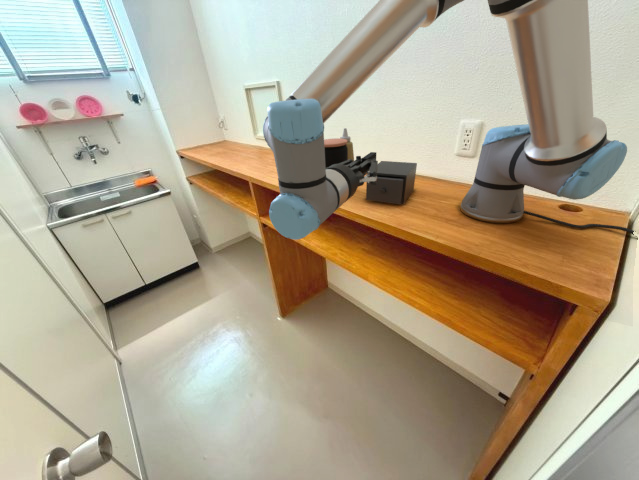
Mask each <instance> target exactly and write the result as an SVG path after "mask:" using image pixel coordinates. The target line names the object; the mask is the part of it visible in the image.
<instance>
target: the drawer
mask: <svg viewBox="0 0 639 480" xmlns="http://www.w3.org/2000/svg"><path fill="white" fill-rule="evenodd" d="M403 182H404V178H402V177H391V176H379V175H377V184H376V185H371V184H370V183H367V182H366V187H365V188H366V189H365V191H366V192H365V197H366V198H365V200H367V201H373V202H374V201H375V202H380V203H388V204H395V205H402V204H401V199H402V191H403Z"/></svg>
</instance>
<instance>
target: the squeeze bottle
mask: <svg viewBox="0 0 639 480" xmlns="http://www.w3.org/2000/svg"><path fill="white" fill-rule="evenodd" d="M340 139H346V140H347V141H348V142H347V145H346V146H347V148H348V160H349V159H352V160H353V161H355V154H354V145H353V142H352V141H351V136H349V134H348V129H347V128H345V127H344V128H343V130H342V136H340Z"/></svg>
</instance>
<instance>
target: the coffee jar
mask: <svg viewBox="0 0 639 480" xmlns="http://www.w3.org/2000/svg"><path fill="white" fill-rule="evenodd" d="M347 142H348V141H347V140H346V139H340V138H338V137H337V138H334V137H333V138H324V148H325V167H326V168H327V167H330V166H331V165H334V164H339V163H341V162H344V161H347V160H348V148H347V146H346V145H347Z"/></svg>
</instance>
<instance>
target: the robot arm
mask: <svg viewBox="0 0 639 480" xmlns="http://www.w3.org/2000/svg"><path fill="white" fill-rule="evenodd" d="M462 2H465V0H378V2H377V3H376V4H374V6H373V7H372V8H371V9H370V10H369V11H368V12H367V13H366V14H365V15H364V16H363V17H362V19H361V20H360V21H359V22H358V23H357V24H356V25H354V27H353V28H352V29H351V30H350V31H349V32H348V33H347V34H346V36H344V37H343V38H342V40H340V42H339V43H338V44H337V45H336V46H335V47H333V49H332V50H331V51H330V52H329V53H328V54H327V56H326V57H325V58H323V60H322V61H321V62H320V63H318V65H317V66H316V67H315V68H314V70H312V71H311V72H310V73H309V75H308V76H307V77H306V78H305V79H304V80H302V82H301V83H300V84H299V85H298V86H297V87H296V88H295V89H294V91H292V92H291V94H290V96H289V97H287V98H286V99H285V100H278V101H273V102H271V103H269V105H268V106H267V108H266V112H267V115H266V117H265V119H264V121H263V125H262V133H263V138H264V142H266V144H267V146H268V147H269V148H270V150H271V151H272V153H273V159H274V163H275V168H276V172H277V181H278V188H279V189H278V190H279V195H277V196H276V197H275V198H274V199H273V200H272V201H271V202H270V206H269V209H268V215H269V220H270V223H271V225H272V226H273V228H274V229H275V230H276V231H277V232H278V233H279V234H280V235H281V236H283V237H284V238H287V239H290V240H295V241H298V240H302V239H304V238H306V237H307V236H308V235H310V234H311V233H312V232H314V231H316V230H318V229H319V227H320V226H321V225H322V224H323V223H324V222H325V221H326V220H327V219H328V218H329V217H330V216H331V215H333V214H334V213H335V212H336V211H337V210H339V208H340V207H341V206H343V205H344V204H345V203H346V202H348V201H349V200H350V199H351V198H352V197H353V196H354V195H355V194H356V192H357V190H358V188H359V187H362V186H364V185H365V183H366V184H367V183H370V184H371V185H376V184H377V168H378V163H379V161H378V160H377V152H376V151H370V152H369V153H368V154H366V155H364V156H363V157H362V156H361V155H356V156H355V159H354V161H353V160H352V159H349V160H347V161H344V162H341V163H339V164H334V165H331V166H330V167H327V168H326V167H325V148H324V140H325V134H324V132H325V123H326V122H327V121H328V120H329V119H330V118H331V117H332V116H333V115H334V114H335V113H336V112H337V111H338V110H339V109H340V108H341V107H342V106H343V105H344V104H345V103H346V102H347V101H348V100H349V99H350V98H351V96H353V95H354V94H355V93H356V92H357V91H358V90H359V89H360V88H361V87H362V86H363V85H364V84H365V83H366V82H367V81H368V80H369V79H370V78H371V77H372V76H373V75H374V73H376V72H377V71H378V70H379V69H380V68H381V67H382V66H383V64H385V63H386V62H387V61H388V60H389V59H390V57H392V56H393V55H394V54H395V53H396V51H397V50H399V49H400V47H402V46H403V44H405V43H406V42H407V40H409V38H411V37H412V36H413V35H414V33H415V32H416V31H418V30H419V29H420V28H423V29H424V28H427V27H430V26H431V25H432V24H433V23H434V22H435V21H436V20H437V19H438V18H439V17H441V16H442V15H443V14H444V13H446V12H447V11H448V10H450V9H451V8H453V7H455V6H457V5H458V4H460V3H462ZM487 3H488V8H489V12H490V15H491V16H492V17H495V18H500V19H504V20H505V22H506V26H507V31H508V36H509V42H510V45H511V50H512V55H513V59H514V63H515V68H516V75H517V77H518V82H519V87H520V91H521V96H522V101H523V105H524V111H525V114H526V119H527V124H526V123H525V124H512V125H505V126H496V127H492V128H490V129H489V130H488V131H487V132H486V134H485V137H484V140H483V143H482V144H481V150H480V154H479V158H478V162H477V167H476V171H475V174H474V179H473V183H472V184H471V186H470V188H469V189H468V191H467V192H466V194H465V196H464V197H463V198H462V200H461V203H460V207H459V210H460V211H461V212H462V213H463V214H464V215H466V216H467V217H469V218H471V219H474V220H476V221H477V220H478V221H481V222H486V223H491V224H511V223H516V222H519V221H520V220H521V219H522V217H523V215H524V214H525V215H527V216H532V217H536V218H538V219H542V220H545V221H549V222H552V223H554V224H559V225H562V226H566V227H570V228H574V229H588V228H602V229H611V230H618V231H623V232H626V233H629V234H630V235H633V236H634V234H633V232H634V231H635V230H633V229H631V228H628V227H623V226H620V225H619V226H618V225H611V224H601V223H587V224H583V225H581V224H575V223H574V224H573V223H570V222H567V221H563V220H559V219H555V218H551V217H550V216H549V217H548V216H545V215H543V214H539V213H535V212H531V211H527V210H525V197H524V195H525V194H524V189H525V186H526V187H530V188H532V189H536V190H539V191H542V192H545V193H548V194H550V195H554V196H556V197H558V198H565V199H569V200H574V201H575V200H583V199H586V198H588V197H590V196H592V195H594V194H595V193H597V192H598V191H600V190H601V189H602V188H603V187H604V186H605V185H606V184H608V182H610V180H612V178H613V177H614V176H615V174H616V173H617V172H618V171H619V169H620V168H621V166H622V165H623V163H624V161H625V158H626V156H627V154H628V147H627V144H626V143H624V142H622V141H619V140H616V139H613V140H609V139H608V133H607V132H608V131H607V125H606V122H605V121H604V120H602V119H601V118H599V117H596V116H594V101H593V81H592V79H593V77H592V61H591V60H592V59H591V39H590V38H591V37H590V36H591V35H590V34H591V33H590V17H589V13H590V12H589V0H487Z"/></svg>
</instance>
